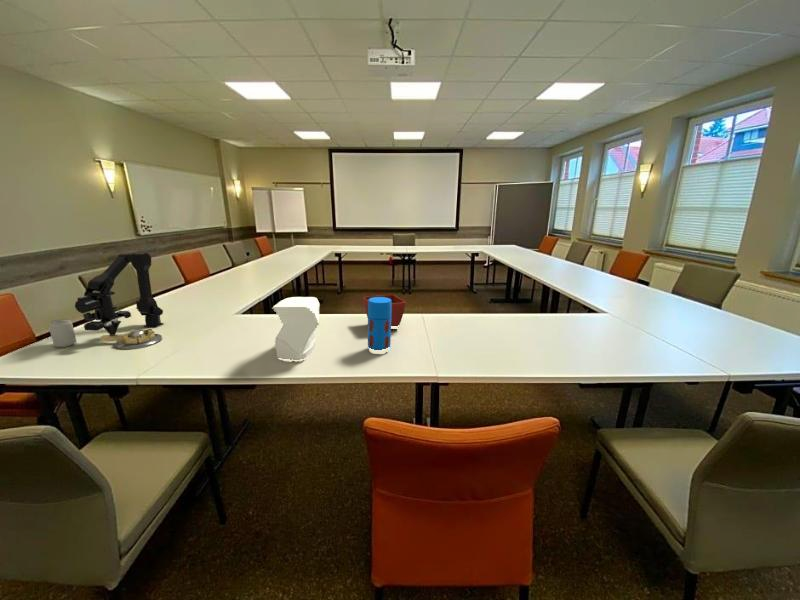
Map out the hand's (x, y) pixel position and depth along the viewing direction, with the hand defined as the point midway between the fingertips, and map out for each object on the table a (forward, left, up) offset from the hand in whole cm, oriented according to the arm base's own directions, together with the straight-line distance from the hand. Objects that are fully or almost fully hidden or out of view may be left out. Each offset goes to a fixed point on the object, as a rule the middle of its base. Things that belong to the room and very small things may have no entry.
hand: (113, 336), depth 157 cm
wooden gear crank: (0, +7, -1) cm, 8 cm away
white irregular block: (0, +92, -3) cm, 93 cm away
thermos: (-9, +126, -3) cm, 127 cm away
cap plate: (-1, +11, -3) cm, 12 cm away
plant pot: (-41, +124, -3) cm, 131 cm away
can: (+7, -18, -3) cm, 19 cm away
